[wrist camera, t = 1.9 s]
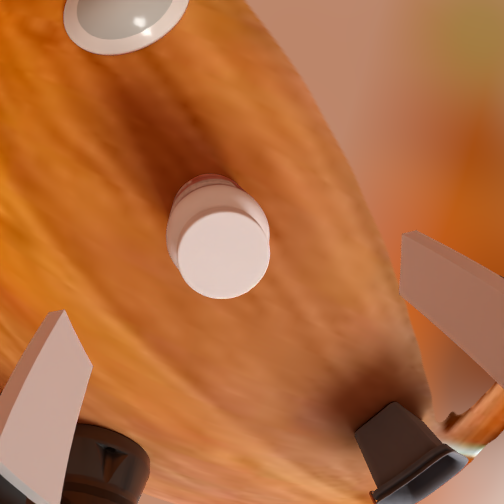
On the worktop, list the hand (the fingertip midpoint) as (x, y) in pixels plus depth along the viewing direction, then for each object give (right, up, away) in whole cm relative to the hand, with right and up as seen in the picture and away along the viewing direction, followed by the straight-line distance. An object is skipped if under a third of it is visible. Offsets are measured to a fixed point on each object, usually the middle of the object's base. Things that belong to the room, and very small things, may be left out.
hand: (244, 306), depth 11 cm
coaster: (-10, +23, +7) cm, 26 cm away
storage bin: (+24, -29, +33) cm, 51 cm away
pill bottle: (-3, +5, +15) cm, 16 cm away
